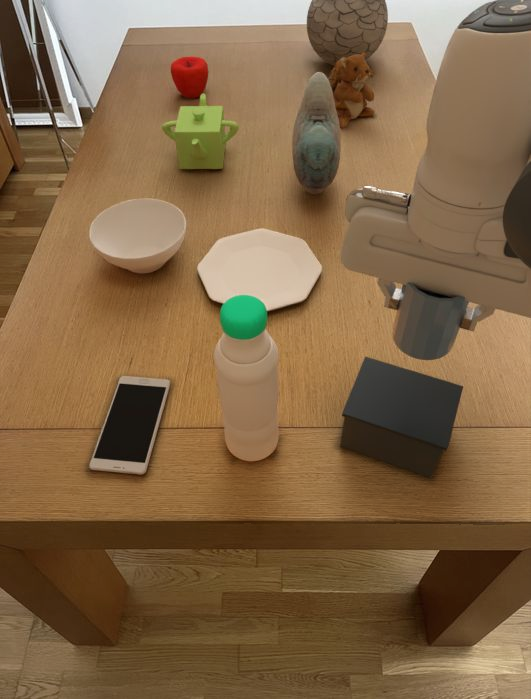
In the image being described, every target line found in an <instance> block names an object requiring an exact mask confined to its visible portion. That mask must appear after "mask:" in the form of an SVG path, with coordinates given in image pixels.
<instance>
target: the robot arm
mask: <svg viewBox="0 0 531 699" xmlns="http://www.w3.org/2000/svg"><path fill="white" fill-rule="evenodd" d="M445 48H446V49H445V51H444V54H443V57H442V60H441V63H440V65H439V66H440V67H439V69H438V73H437V75H436V76H437V77H436V80H435V83H434V87H433V91H432V95H431V100H430V105H429V109H428V113H427V119H426V138H427V142H426V147H425V150H424V152H423V154H422V155H421V156H420V159H419V161H418V164H417V167H416V171H415V177H414V180H413V186H412V191H411V194H410V193H405V192H401V191H396V190H389V189H388V190H387V189H382V188H379V187H377V186H374V185H364V186H363V188H356V189H353V190H352V191H350V192H349V193H348V194H347V196H346V198H345V205H344V206H345V207H344V216H345V219H346V221H347V222H348V226H347V228H346V232H345V234H344V238H343V241H342V245H341V249H340V250H341V251H340V256H339V261H340V262H341V264H342V265H343V267H344V268H345V269H346V270H347V271H350V272H354V273H358V274H361V275H366V276H370V277H374V278H376V279H377V285H378V287H379V289H380V291H381V293H382V294H383V297H385V298H384V304H383V307H384V308H386V309H391V310H394V311H397V309H398V304H399V300H400V294H401V290H402V288H400V287H397V286H396V284H400V285H406V284H407V282H409V283H413V284H414V285H415V287H416V288H419V289H422V290H426V291H430V292H434V293H438V294H441V295H445V296H449V297H453V298H454V297H457V296H462V297H465V301H468V302H469V303H473V304H476V305H477V306H475V307H470V306H467V309H466V312H465V314H464V317H463V319H462V323H461V325H460V328H459V329H462V330H465V331H469V332H474V331H475V329H476V327H477V324H478V323H480V322H481V321H483V320H485V319H487V318H489V317H491V316H492V315H494V313H495V312H496V310H499V311H503V312H506V313H509V314H514V315H518V316H521V317H525V318H528V319H531V0H493V1H489V2H486V3H484V4H482V5H480V6H479V7H477V8H476V9H474V10H473V11H472V12H470V13H469V14H468V15H467V16H466V17H465V18H463V20H462V21H461V22H460V23H459V24H458V25H457V26H456V28H455V29H454V31H453V33H452V35H451V37H450V39H449V41H448V44H447V46H446V47H445ZM395 283H396V284H395Z"/></svg>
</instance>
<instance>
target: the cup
mask: <svg viewBox="0 0 531 699" xmlns="http://www.w3.org/2000/svg"><path fill="white" fill-rule="evenodd" d="M401 285H402V286H401V289H402V290H401V294H400V300H399V304H398V309H397V310H396V311H395V312H396V313H395V317H394V321H393V325H392V334H391V335H392V340H393V342H394V344H395V346H396V347H397V349H399V351H401V352H402V353H403V354H405V355H406V356H408V357H411V358H413V359H416V360H421V361H434V360H439V359H441V358H444V357H445V356H447V355H449V353H450V352H451V351H452V349H453V347H454V345H455V342H456V339H457V338H458V337H457V336H458V333H459V331H460V329H461V328H460V325H461V323H462V319H463V317H464V314H465V312H466V309H467V307H469V306H468V305H469V303H470V302H468V301H465V297H462V296H457V297H454V298H453V297H449V296H445V295H441V294H438V293H434V292H430V291H426V290H422V289H419V288H416V287H415V285H414V284H413V283H409V282H407V284H406V285H403V284H401Z"/></svg>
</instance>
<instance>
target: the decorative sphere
mask: <svg viewBox="0 0 531 699" xmlns="http://www.w3.org/2000/svg"><path fill="white" fill-rule="evenodd" d="M388 11H389V10H388V6H387V2H386V0H311V1H310V3H309V7H308V10H307V15H306V32H307V37H308V40H309V43H310V46H311V47H312V49H313V51H314V52H315V53H316V55H317V56H318V57H319V58H320V59H321V60H322V61H323V62H325V63H327V64H329V65H330V66H333V67H335V65H336V63H337V61H339V60H340V59H341V58H343V57H345V58H348V57H349V56H352V55H356V54H362V53H363V52H364V53H366V57H365V61H367V60H368V59H370V58H371V57H372V56H373V55H374V54H375V53H376V52H377V50H378V49H379V48H380V46H381V44H382V42H383V40H384V38H385V36H386V32H387V29H388V21H389V12H388Z"/></svg>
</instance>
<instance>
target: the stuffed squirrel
mask: <svg viewBox="0 0 531 699" xmlns="http://www.w3.org/2000/svg"><path fill="white" fill-rule="evenodd" d="M365 57H366V53H364V52H363V53H362V54H356V55H352V56H349V57H348V58H345V57H343V58H341V59H340V60H339V61H337V63H336V65H335V66H333V67H332V68H333V69H331V71H330V76H329V78H328V80H329V82H330V85H331V88H332V92H333V98H334V102H335V108H336V111H337V115H338V119H339V124H340V129H343V128H347V127H348V125H349V124H350V121H351V120H354V119H357V118H358V117H373V116H374V115H375V110H374V108H371V107H368V102H369V103H371V102H373V101H374V100H375V92H374V91H373V89H371V88H370V86H369V85H367V83H365V81H367V80H368V79H369V78H370V75H371V78H373V77H374V76H376V75H375V72H373V70H371V69H370V66H369V65H368V63H367V60H365Z"/></svg>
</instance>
